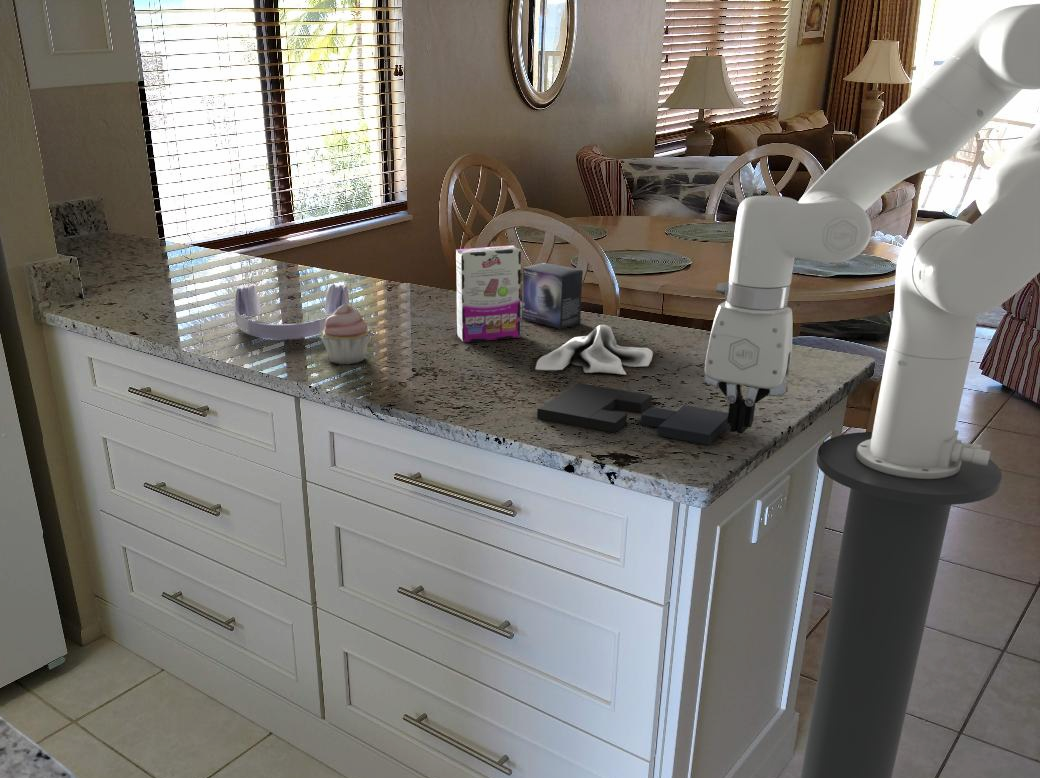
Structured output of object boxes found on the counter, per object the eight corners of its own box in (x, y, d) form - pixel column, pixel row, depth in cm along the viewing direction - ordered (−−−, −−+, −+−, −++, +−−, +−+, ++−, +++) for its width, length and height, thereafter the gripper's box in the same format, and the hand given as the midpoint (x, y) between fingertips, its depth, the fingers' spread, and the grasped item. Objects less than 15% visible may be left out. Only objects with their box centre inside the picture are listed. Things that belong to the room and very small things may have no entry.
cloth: (589, 337, 183) (591, 304, 181) (676, 357, 170) (679, 322, 168) (509, 363, 170) (509, 327, 167) (597, 386, 157) (599, 348, 154)
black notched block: (651, 404, 148) (652, 395, 148) (614, 433, 138) (615, 422, 137) (577, 391, 155) (578, 382, 154) (536, 418, 144) (537, 408, 143)
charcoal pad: (731, 423, 140) (732, 413, 140) (708, 445, 133) (709, 434, 132) (658, 410, 146) (659, 400, 145) (632, 431, 138) (633, 420, 138)
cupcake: (335, 370, 168) (332, 312, 164) (311, 358, 175) (308, 302, 171) (383, 361, 172) (381, 304, 168) (358, 349, 179) (355, 294, 175)
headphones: (243, 313, 206) (224, 345, 188) (239, 279, 202) (220, 309, 185) (350, 312, 205) (341, 344, 187) (348, 278, 201) (339, 308, 184)
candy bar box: (512, 331, 188) (514, 244, 182) (520, 338, 184) (522, 249, 177) (455, 336, 186) (455, 248, 180) (461, 343, 182) (462, 252, 175)
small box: (518, 319, 196) (520, 266, 192) (541, 314, 200) (543, 261, 196) (559, 329, 189) (561, 274, 185) (581, 323, 193) (584, 269, 188)
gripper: (690, 295, 128) (675, 427, 136) (811, 309, 121) (788, 449, 128) (709, 284, 134) (694, 412, 141) (825, 297, 126) (802, 432, 134)
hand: (738, 429), depth 135 cm, fingers closed
